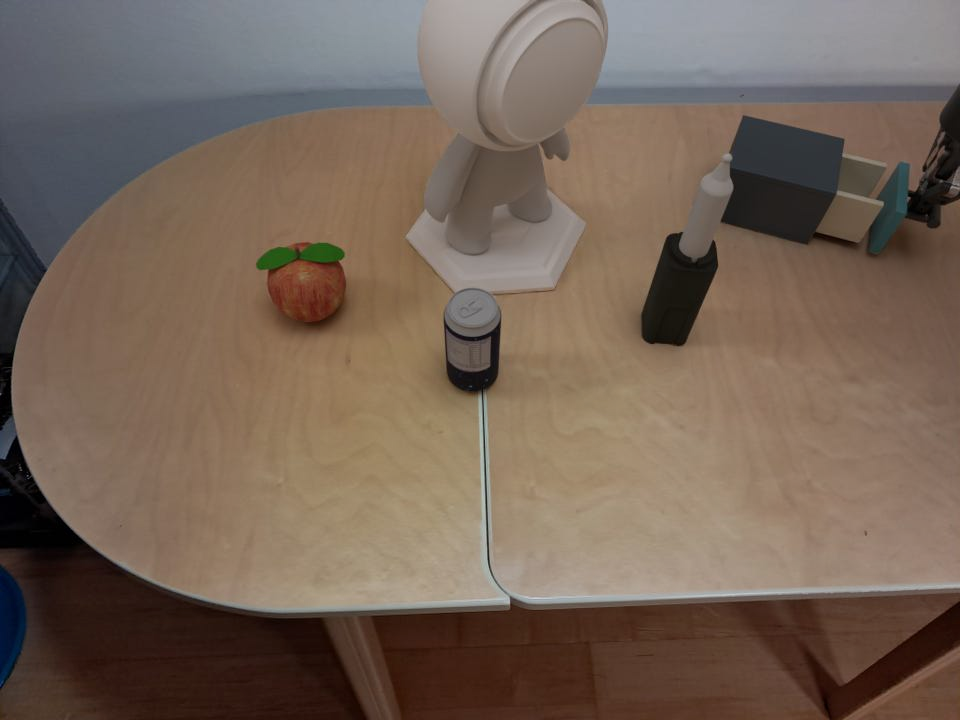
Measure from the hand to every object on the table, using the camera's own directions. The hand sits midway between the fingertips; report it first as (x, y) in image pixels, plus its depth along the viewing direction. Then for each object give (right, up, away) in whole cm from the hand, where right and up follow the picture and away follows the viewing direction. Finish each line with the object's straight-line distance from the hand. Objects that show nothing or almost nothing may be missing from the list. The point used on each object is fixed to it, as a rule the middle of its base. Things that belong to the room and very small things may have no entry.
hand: (912, 214), depth 86 cm
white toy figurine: (-51, -2, +4) cm, 51 cm away
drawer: (-5, 0, +4) cm, 6 cm away
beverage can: (-54, -20, -8) cm, 58 cm away
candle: (-32, -14, -5) cm, 35 cm away
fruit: (-73, -12, -3) cm, 74 cm away
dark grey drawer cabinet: (-16, +3, +7) cm, 17 cm away
